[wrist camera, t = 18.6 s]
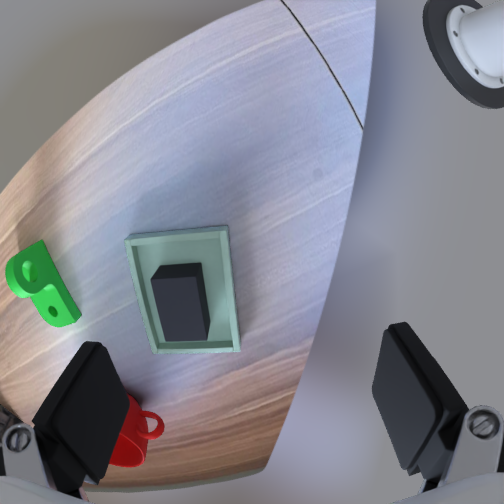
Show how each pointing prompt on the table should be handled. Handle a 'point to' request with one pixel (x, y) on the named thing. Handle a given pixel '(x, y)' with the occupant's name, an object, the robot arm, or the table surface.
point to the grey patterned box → (6, 421)
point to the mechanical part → (41, 285)
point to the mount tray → (215, 278)
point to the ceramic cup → (135, 436)
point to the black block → (181, 302)
